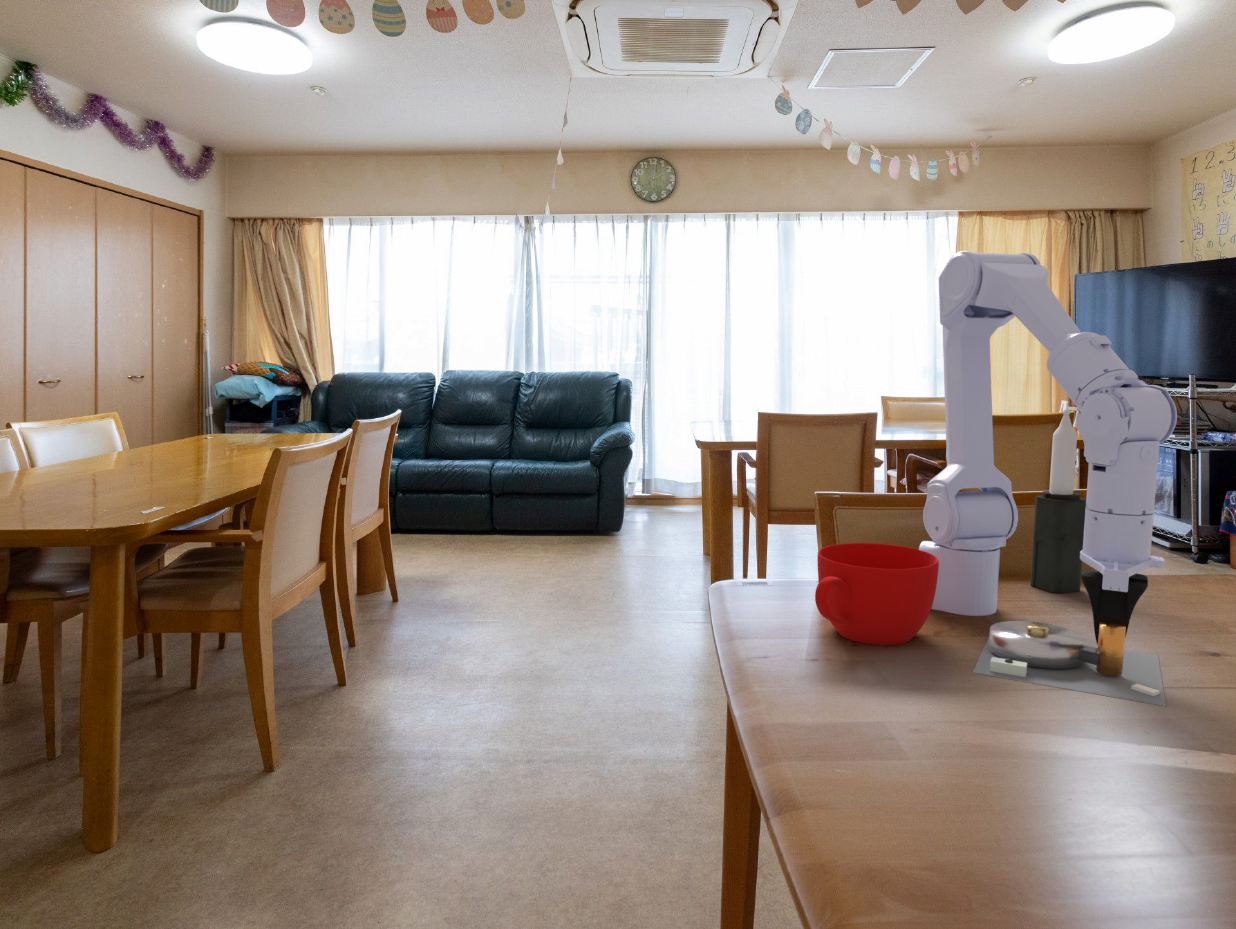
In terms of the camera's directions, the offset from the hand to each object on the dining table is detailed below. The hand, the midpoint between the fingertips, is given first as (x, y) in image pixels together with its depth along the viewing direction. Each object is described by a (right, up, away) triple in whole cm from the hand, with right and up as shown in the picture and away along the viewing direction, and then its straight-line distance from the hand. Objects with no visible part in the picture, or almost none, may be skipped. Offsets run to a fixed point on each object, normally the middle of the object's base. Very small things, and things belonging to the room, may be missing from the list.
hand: (1109, 645), depth 83 cm
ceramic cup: (-21, -2, +10) cm, 24 cm away
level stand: (-3, -3, +2) cm, 5 cm away
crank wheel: (-4, -2, +3) cm, 5 cm away
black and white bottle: (+12, 0, +34) cm, 36 cm away
